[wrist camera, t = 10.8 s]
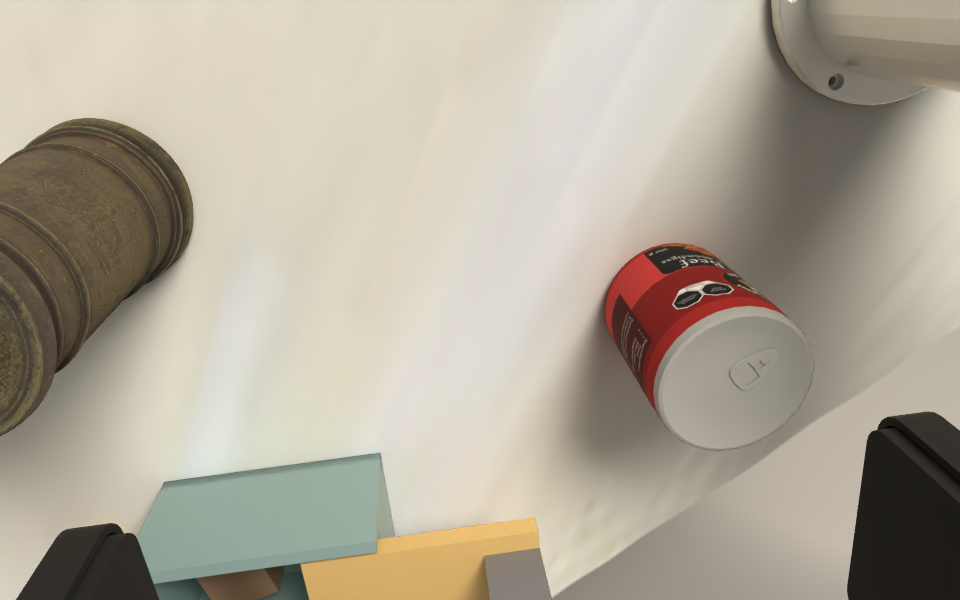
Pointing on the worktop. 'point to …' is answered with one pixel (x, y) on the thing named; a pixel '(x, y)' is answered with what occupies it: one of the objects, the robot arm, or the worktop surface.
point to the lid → (439, 567)
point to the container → (78, 245)
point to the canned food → (707, 347)
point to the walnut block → (243, 584)
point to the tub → (264, 523)
